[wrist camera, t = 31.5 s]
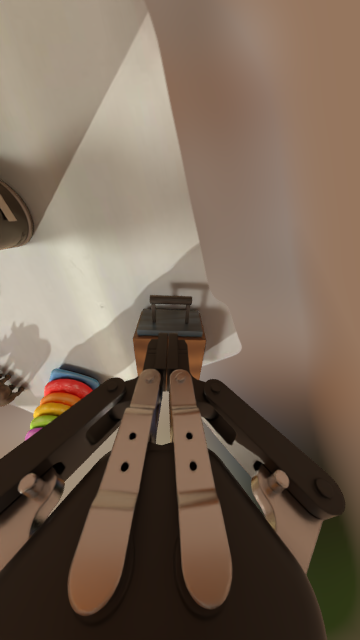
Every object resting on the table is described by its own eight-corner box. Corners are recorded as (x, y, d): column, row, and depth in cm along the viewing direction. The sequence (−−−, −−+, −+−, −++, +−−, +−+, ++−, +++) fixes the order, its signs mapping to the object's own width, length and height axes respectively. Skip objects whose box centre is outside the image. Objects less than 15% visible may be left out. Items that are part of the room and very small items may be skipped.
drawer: (141, 284, 32) (133, 302, 26) (201, 286, 32) (207, 304, 26) (147, 355, 42) (142, 380, 36) (192, 356, 43) (195, 380, 37)
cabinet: (141, 311, 36) (132, 338, 28) (199, 313, 37) (206, 340, 29) (145, 359, 44) (139, 390, 37) (193, 359, 45) (197, 390, 37)
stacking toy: (92, 400, 54) (46, 508, 34) (49, 388, 50) (-31, 502, 31) (106, 376, 48) (58, 492, 28) (57, 360, 44) (-37, 482, 24)
